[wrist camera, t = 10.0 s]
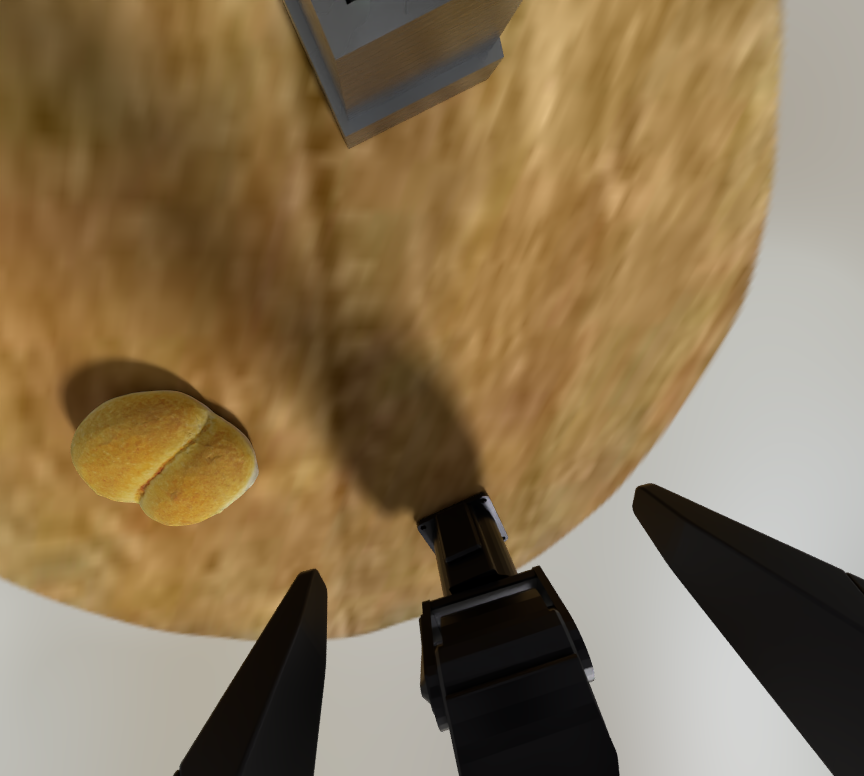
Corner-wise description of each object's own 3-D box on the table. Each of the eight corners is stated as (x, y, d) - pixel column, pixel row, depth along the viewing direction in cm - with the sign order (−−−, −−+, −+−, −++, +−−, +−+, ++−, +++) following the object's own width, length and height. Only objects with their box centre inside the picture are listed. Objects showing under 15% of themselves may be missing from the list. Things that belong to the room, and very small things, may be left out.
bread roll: (151, 358, 17) (94, 389, 14) (283, 448, 21) (265, 491, 18) (66, 445, 19) (-6, 494, 15) (205, 515, 23) (174, 567, 19)
